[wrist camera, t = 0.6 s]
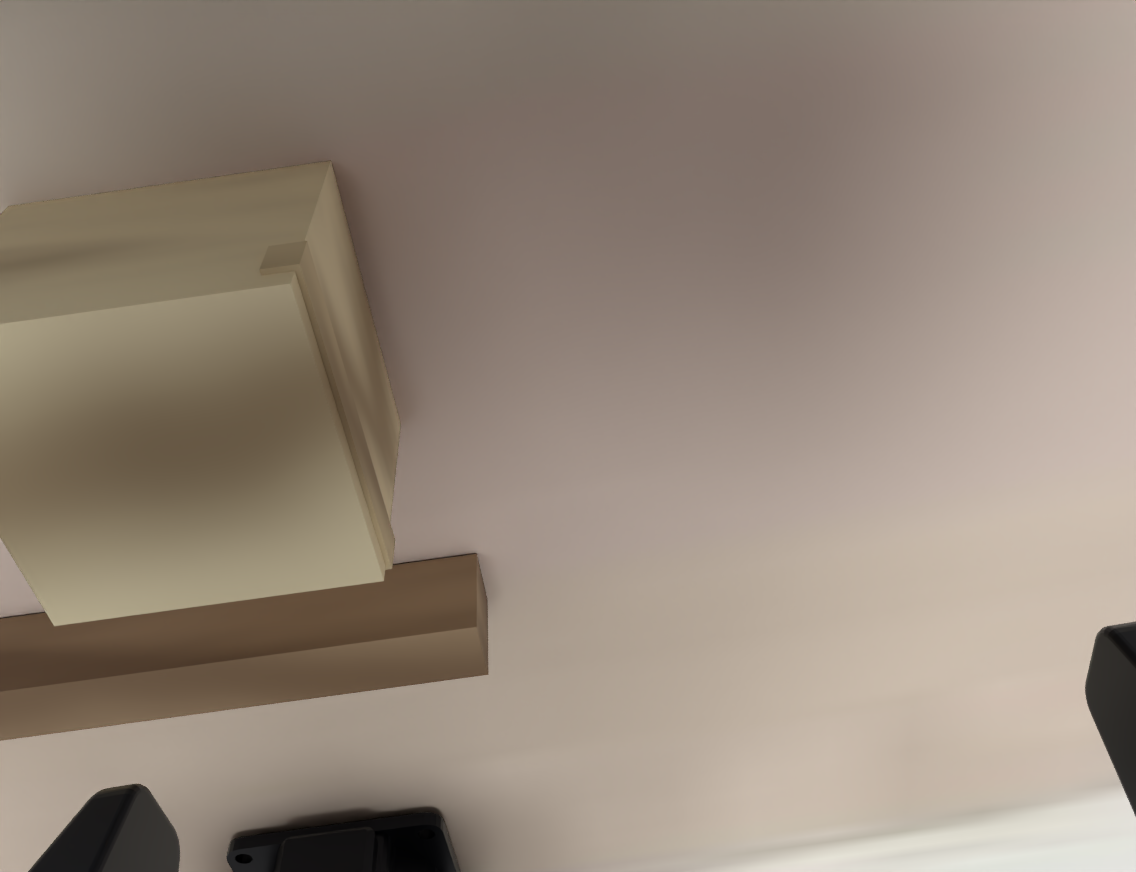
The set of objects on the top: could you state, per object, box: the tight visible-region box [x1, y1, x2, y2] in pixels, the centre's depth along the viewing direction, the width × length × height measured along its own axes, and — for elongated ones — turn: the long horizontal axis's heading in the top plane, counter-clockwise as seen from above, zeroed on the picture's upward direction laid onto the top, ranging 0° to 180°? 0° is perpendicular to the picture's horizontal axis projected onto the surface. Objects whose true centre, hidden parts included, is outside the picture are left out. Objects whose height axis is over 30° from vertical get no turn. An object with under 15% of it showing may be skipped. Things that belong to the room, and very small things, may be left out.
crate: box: [0, 161, 401, 626], centre depth 18 cm, size 6×6×5 cm
